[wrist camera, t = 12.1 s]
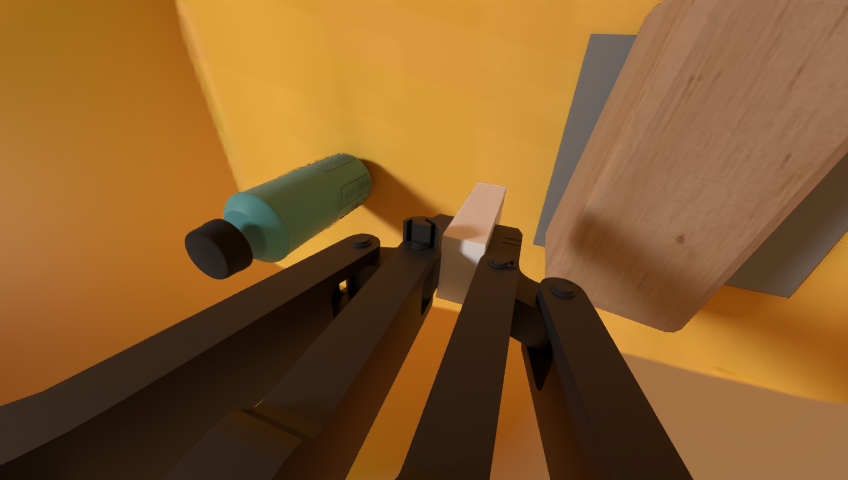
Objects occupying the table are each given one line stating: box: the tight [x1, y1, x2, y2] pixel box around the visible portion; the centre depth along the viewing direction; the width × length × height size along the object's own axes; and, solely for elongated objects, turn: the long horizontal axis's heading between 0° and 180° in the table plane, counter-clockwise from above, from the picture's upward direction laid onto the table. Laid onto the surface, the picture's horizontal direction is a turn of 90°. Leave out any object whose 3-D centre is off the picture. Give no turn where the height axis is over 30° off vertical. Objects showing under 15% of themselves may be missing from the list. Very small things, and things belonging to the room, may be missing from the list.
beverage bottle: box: [185, 153, 371, 279], centre depth 29 cm, size 6×7×20 cm
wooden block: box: [545, 0, 848, 332], centre depth 21 cm, size 10×10×20 cm
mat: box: [533, 34, 848, 298], centre depth 25 cm, size 19×22×1 cm
